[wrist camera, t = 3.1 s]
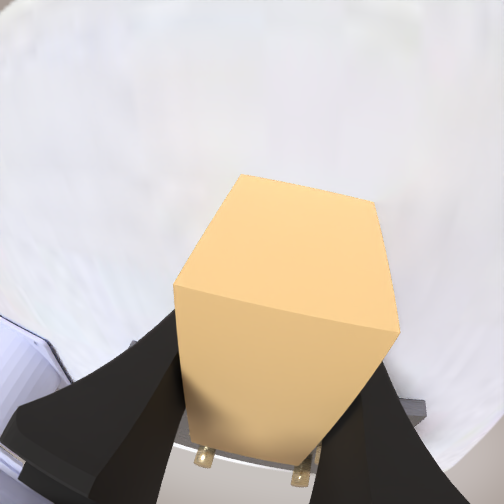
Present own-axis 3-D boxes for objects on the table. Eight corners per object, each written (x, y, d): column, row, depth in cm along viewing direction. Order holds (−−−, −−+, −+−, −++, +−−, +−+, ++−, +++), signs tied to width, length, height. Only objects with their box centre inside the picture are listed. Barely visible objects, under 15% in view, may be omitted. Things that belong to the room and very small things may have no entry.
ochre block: (225, 343, 14) (191, 442, 10) (241, 174, 9) (173, 284, 5) (312, 362, 14) (298, 466, 10) (373, 202, 9) (400, 332, 5)
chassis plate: (159, 426, 23) (147, 456, 21) (132, 340, 16) (107, 385, 14) (349, 466, 21) (346, 497, 19) (425, 400, 14) (428, 449, 12)
